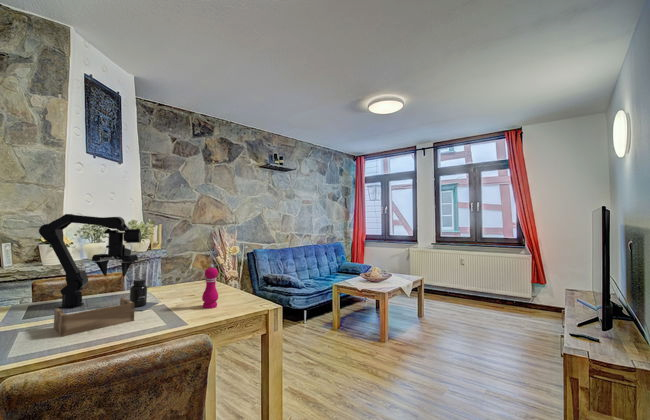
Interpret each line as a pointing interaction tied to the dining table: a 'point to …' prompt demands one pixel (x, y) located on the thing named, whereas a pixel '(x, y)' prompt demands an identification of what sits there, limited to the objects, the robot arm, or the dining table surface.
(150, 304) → the felt mat
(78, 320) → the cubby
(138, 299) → the supplement bottle
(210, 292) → the pepper mill
